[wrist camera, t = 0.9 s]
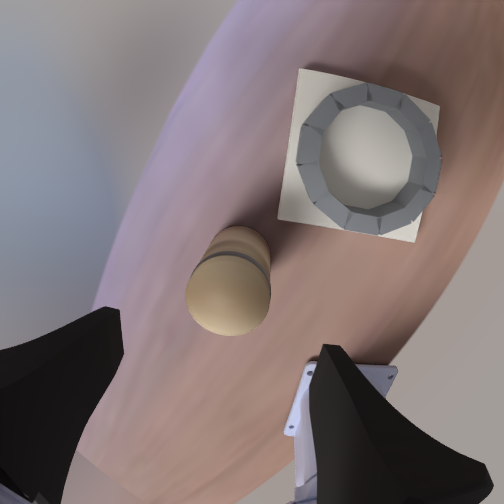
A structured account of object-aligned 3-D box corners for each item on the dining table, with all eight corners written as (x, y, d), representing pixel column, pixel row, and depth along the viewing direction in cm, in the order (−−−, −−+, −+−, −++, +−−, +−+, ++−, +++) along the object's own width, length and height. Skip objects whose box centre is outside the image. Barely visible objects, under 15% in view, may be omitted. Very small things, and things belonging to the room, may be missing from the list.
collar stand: (408, 238, 19) (427, 253, 16) (277, 215, 19) (277, 228, 16) (432, 107, 16) (456, 103, 13) (298, 71, 16) (302, 59, 13)
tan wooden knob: (266, 289, 21) (263, 341, 15) (205, 279, 21) (183, 329, 15) (275, 230, 19) (277, 267, 14) (210, 221, 20) (186, 254, 14)
